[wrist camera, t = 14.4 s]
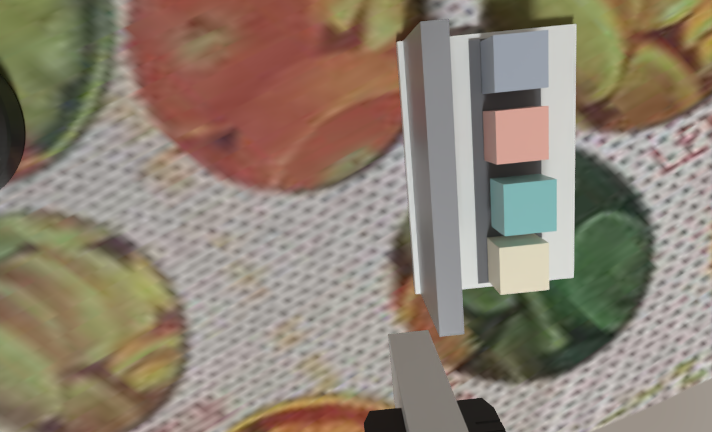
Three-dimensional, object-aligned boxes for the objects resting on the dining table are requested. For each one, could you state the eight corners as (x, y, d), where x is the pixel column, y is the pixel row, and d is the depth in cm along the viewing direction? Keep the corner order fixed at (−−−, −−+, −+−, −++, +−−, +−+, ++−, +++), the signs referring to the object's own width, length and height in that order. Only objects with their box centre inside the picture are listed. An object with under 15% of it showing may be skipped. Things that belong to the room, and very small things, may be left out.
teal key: (491, 226, 43) (504, 236, 39) (489, 178, 42) (503, 184, 38) (539, 221, 43) (556, 230, 39) (539, 173, 42) (556, 179, 38)
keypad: (414, 290, 47) (433, 337, 37) (396, 43, 42) (413, 22, 32) (568, 274, 47) (628, 316, 37) (570, 25, 42) (640, -1, 32)
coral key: (484, 160, 43) (496, 164, 39) (482, 111, 42) (495, 111, 38) (532, 155, 43) (548, 159, 39) (531, 106, 42) (548, 105, 38)
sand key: (488, 281, 46) (500, 294, 42) (487, 237, 45) (499, 248, 41) (533, 276, 46) (549, 289, 42) (533, 232, 45) (549, 242, 41)
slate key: (482, 94, 41) (494, 92, 38) (480, 41, 40) (493, 35, 37) (531, 89, 42) (548, 87, 38) (530, 36, 41) (548, 29, 37)
